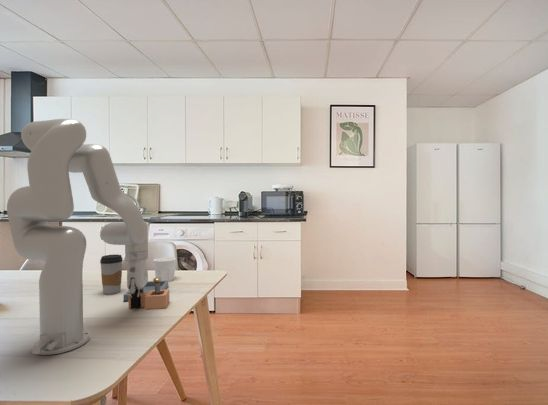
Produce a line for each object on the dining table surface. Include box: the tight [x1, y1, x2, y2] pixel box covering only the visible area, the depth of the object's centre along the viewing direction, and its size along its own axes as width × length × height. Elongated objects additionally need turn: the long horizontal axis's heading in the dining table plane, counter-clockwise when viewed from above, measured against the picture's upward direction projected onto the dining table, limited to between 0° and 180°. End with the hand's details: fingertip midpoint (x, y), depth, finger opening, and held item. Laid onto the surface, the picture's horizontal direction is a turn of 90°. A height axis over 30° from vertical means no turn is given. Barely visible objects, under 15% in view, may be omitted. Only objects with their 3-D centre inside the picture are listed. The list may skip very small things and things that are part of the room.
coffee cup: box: [99, 254, 124, 296], centre depth 125 cm, size 8×8×15 cm
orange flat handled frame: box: [128, 288, 170, 310], centre depth 110 cm, size 7×13×4 cm, turn 99°
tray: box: [123, 280, 169, 303], centre depth 124 cm, size 18×13×2 cm
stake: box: [153, 277, 161, 295], centre depth 110 cm, size 3×3×10 cm
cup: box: [153, 256, 177, 283], centre depth 144 cm, size 10×10×10 cm
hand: (137, 305), depth 109 cm, fingers closed on orange flat handled frame, 3 cm apart
